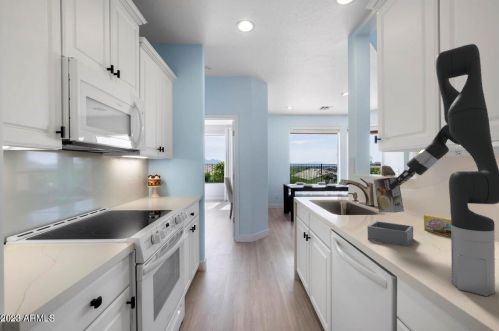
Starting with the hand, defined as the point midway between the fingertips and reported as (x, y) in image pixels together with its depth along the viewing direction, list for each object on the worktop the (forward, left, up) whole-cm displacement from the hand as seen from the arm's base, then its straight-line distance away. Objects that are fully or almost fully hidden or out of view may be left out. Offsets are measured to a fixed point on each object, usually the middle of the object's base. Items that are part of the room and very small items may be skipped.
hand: (392, 187), depth 115 cm
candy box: (+25, -16, -25) cm, 39 cm away
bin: (0, +1, -24) cm, 24 cm away
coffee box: (0, +1, -12) cm, 12 cm away
